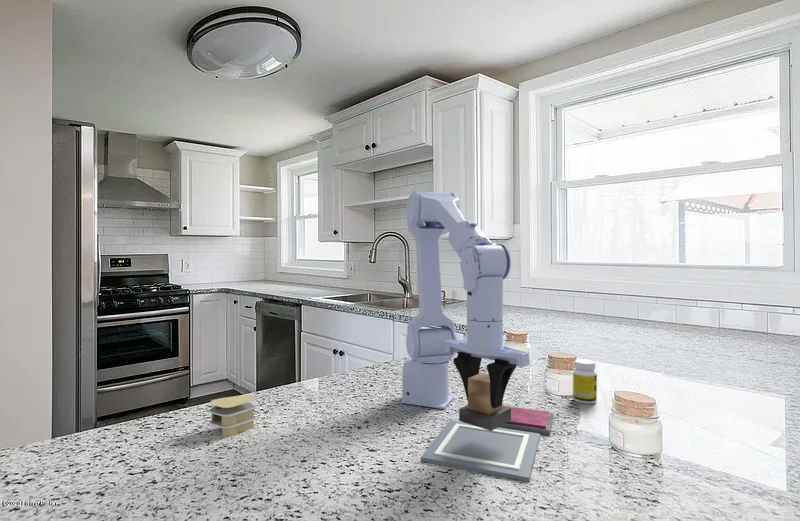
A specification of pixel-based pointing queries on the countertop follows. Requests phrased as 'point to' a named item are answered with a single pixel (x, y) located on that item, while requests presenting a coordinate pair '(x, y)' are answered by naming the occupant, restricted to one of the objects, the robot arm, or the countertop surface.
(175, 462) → the countertop surface
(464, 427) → the marked board
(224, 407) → the yellow white layered block
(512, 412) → the ink pad
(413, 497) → the countertop surface
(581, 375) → the supplement bottle
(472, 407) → the stamp
